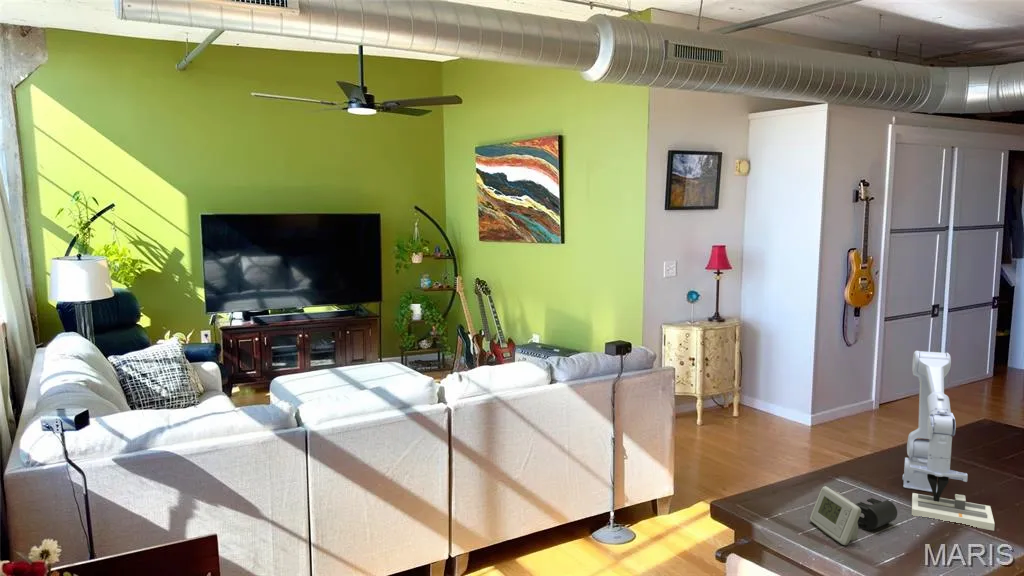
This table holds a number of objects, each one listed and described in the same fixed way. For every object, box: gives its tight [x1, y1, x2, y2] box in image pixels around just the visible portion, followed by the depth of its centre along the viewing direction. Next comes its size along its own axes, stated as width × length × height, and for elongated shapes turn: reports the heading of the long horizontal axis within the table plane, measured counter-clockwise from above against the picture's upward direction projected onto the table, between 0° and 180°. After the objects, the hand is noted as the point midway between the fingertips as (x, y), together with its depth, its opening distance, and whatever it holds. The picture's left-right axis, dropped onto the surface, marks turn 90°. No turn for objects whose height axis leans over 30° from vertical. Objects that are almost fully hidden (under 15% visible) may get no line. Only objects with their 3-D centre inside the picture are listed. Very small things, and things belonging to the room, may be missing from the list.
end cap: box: [854, 497, 898, 531], centre depth 202 cm, size 10×7×7 cm
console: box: [911, 492, 996, 532], centre depth 210 cm, size 20×14×3 cm
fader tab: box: [954, 493, 967, 510], centre depth 209 cm, size 2×4×3 cm, turn 151°
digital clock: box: [809, 485, 862, 546], centre depth 197 cm, size 16×9×11 cm, turn 178°
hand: (936, 500), depth 212 cm, fingers closed
